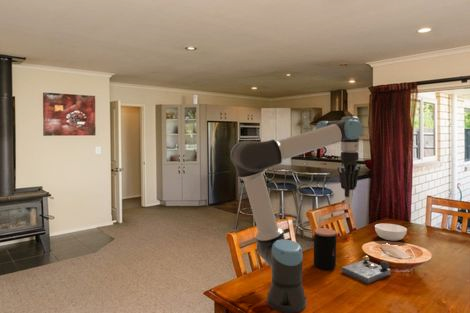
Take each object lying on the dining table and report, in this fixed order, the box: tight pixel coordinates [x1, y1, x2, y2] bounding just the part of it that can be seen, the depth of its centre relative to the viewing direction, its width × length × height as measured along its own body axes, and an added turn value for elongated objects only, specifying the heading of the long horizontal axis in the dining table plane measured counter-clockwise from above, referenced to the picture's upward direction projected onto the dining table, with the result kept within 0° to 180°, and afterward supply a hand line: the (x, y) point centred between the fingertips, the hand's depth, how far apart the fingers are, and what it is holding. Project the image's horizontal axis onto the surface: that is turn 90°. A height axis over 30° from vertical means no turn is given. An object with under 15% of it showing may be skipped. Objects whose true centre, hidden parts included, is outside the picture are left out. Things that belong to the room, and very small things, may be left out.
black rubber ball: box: [379, 260, 390, 269], centre depth 153 cm, size 4×4×4 cm
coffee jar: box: [313, 227, 338, 272], centre depth 161 cm, size 11×11×18 cm
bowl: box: [374, 222, 408, 242], centre depth 205 cm, size 18×18×7 cm
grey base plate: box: [341, 259, 392, 285], centre depth 154 cm, size 17×14×2 cm
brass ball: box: [362, 255, 370, 262], centre depth 162 cm, size 3×3×3 cm
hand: (348, 203), depth 147 cm, fingers closed
